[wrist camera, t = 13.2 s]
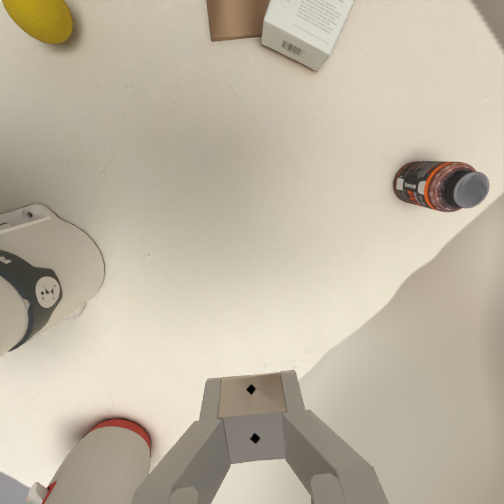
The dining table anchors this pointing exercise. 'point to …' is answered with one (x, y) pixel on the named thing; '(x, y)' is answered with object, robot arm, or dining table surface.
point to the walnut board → (236, 18)
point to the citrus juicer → (100, 467)
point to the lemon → (42, 18)
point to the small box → (305, 28)
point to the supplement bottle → (441, 185)
